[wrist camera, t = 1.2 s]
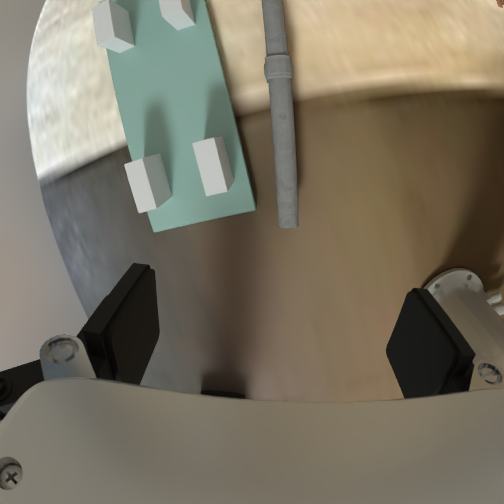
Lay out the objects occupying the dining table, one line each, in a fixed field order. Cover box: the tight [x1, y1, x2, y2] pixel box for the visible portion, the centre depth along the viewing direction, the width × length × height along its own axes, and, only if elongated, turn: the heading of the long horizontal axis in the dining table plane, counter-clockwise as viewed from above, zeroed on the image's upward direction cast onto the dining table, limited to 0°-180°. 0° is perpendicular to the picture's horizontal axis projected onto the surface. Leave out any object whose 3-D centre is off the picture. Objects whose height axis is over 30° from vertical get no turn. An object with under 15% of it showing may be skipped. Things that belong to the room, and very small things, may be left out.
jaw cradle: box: [92, 0, 256, 232], centre depth 27 cm, size 12×30×6 cm, turn 13°
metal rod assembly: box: [262, 0, 299, 228], centre depth 28 cm, size 26×3×5 cm, turn 4°
